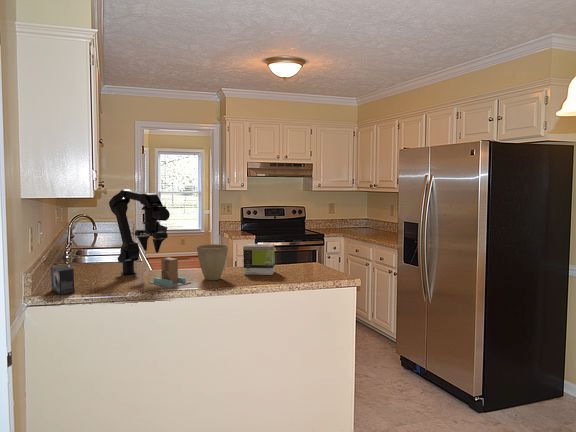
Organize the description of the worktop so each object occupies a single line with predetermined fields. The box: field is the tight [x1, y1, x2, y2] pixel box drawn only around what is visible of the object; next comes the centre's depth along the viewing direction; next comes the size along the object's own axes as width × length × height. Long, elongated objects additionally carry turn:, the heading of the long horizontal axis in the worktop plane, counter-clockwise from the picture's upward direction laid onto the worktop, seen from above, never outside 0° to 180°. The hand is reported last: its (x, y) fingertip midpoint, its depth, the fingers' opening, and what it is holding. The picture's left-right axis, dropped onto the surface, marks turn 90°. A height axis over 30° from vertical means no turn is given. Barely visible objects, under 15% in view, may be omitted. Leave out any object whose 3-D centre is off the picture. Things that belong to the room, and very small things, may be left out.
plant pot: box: [196, 243, 229, 281], centre depth 236 cm, size 15×15×16 cm
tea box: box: [242, 243, 276, 276], centre depth 250 cm, size 15×10×15 cm, turn 84°
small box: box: [50, 264, 76, 296], centre depth 208 cm, size 11×6×10 cm, turn 45°
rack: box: [147, 276, 192, 289], centre depth 226 cm, size 16×12×2 cm
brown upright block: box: [160, 256, 179, 283], centre depth 226 cm, size 7×4×11 cm, turn 50°
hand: (151, 251), depth 235 cm, fingers open, 9 cm apart
